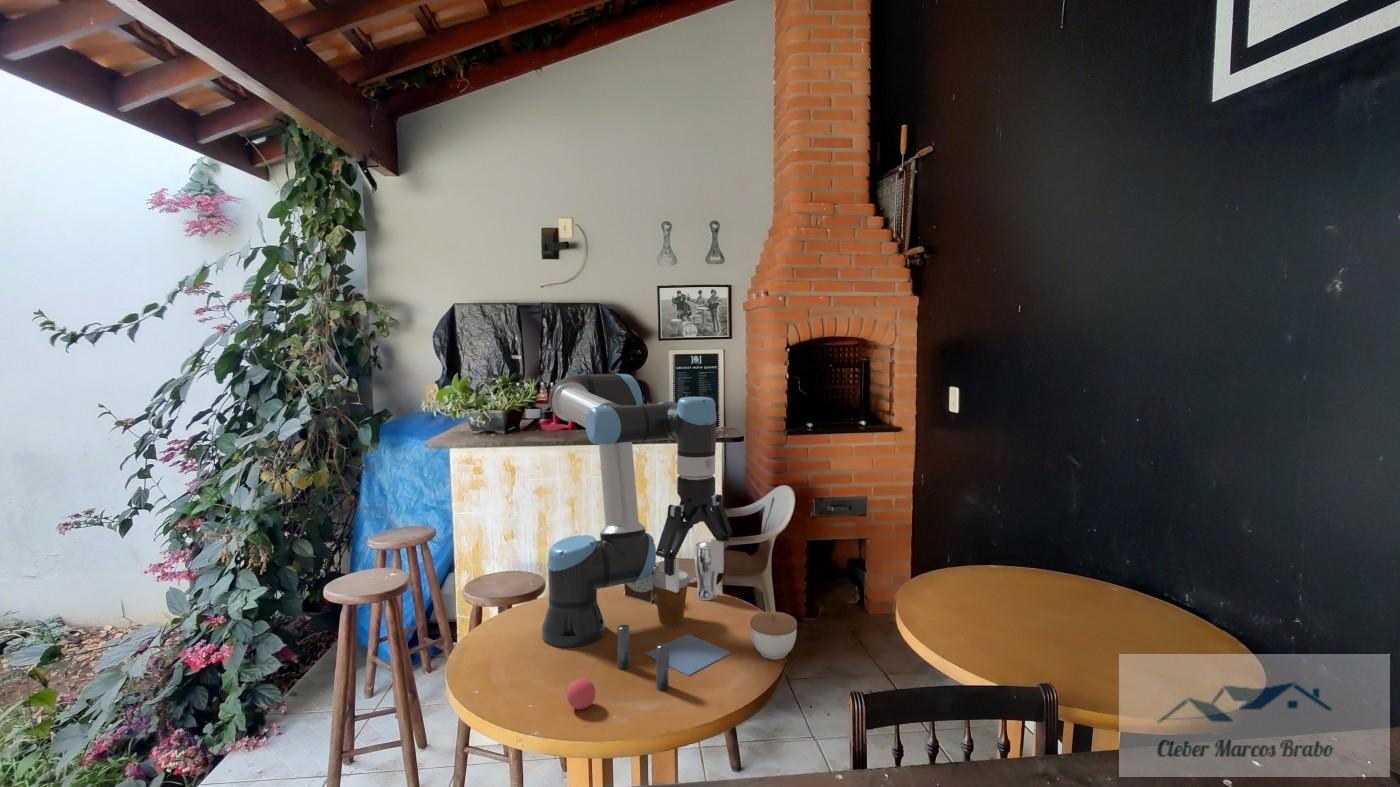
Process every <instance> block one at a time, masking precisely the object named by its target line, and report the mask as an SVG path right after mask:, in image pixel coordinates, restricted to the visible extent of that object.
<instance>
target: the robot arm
mask: <svg viewBox="0 0 1400 787" xmlns="http://www.w3.org/2000/svg"><path fill="white" fill-rule="evenodd" d="M642 395H643V394H642V391H641V387H640V385H639V382H637V380H636V378H634V376H633V375H630V374H628V373H627V374H626V373H617V372H615V373H597V374H596V373H595V374H594V373H593V374H584V373H583V374H574V375H573V374H572V375H570V376H567V377H564V378H562V379H560V380H559V381H558V382H556V383H555V384H554V385H553V387H552V388H551V389H550V392H549V396H548V405H549V408H550V410H551V412H552V413H553V414H554V415H555V416H556V417H558V418H559V419H560V420H563V421H566V422H575V423H577V424H578V425H579V426H581V427H584V429H585V431H586V435H587V438H588V441H590V443H591V444H593V445H598V447H599V448H598V449H599V462H600V473H601V487H602V488H601V489H602V498H603V500H602V501H603V509H604V512H603V513H604V522H605V525H604V527H603V528H602V529H601V531H600V532H599V538H600V539H599V540H597V539H596V538H595V537H594V536H593V535H590V534H589V535H588V534H583V535H581V534H579V535H573V536H568V537H565V538H563V539H560V540H558V541H556V542H555V543H553V544H552V546H550V548H549V550H548V557H547V558H548V560H547V569H548V571H547V572H548V574H547V575H548V606H547V610H546V614H545V617H544V620H543V624H542V625H541V626H542V627H541V638H542V639H543V641H544V642H545V643H547V644H548V645H551V646H556V647H561V648H572V647H573V648H575V647H581V646H585V645H589V644H592V643H593V642H596V641H598V640H599V639H601V637H603V635H604V634H605V621H604V618H603V615H602V614H603V613H602V612H601V609H600V607H599V603H598V597H597V596H598V595H597V594H598V593H597V592H598V590H600V589H605V588H611V587H616V586H619V585H620V586H621V585H624V584H627V583H635V582H638V581H642V580H645V579H647V578H648V577H649V576H650V575H651V574H652V571H653V570H654V566H655V562H657V561H656V560H657V557H660V558H663V559H664V561H663V562H664V563H663V565H664V566H663V568H664V569H663V570H664V573H665V574H666V589H667V590H670V591H673V592H675V593H677V592H679V570H680V558H678V557H677V555H678V553H679V552H680V549H681V547H682V545H683V543H684V541H685V538H686V537H687V535H688V533H689V531H690V529H693V527H694V526H695V525H697V524H699V523H704V524H705V526H706V527H707V528H708V530H709V532H710V533H711V535H712V536H713V538H712V539H711V541H710V542H711V570H712V571H715V572H718V574H723V573H724V565H725V564H724V562H725V561H724V557H725V556H724V555H725V552H726V551H725V550H726V549H725V546H726V545H725V544H726V542H729V541H730V536H732V534H733V530H732V528H731V525H730V522H729V521H730V520H729V519H728V516H727V513H726V510H725V507H724V500H723V499H724V498H723V495H722V494H718V493H716V477H715V476H714V475H715V474H716V446H717V445H716V444H717V441H716V440H717V420H718V419H717V418H718V417H717V412H716V402H715V399H713V398H712V397H708V396H685V397H684V396H683V397H680V398H679V399H678V401H677V402H675V401H662V402H658V403H650V404H643V401H644V400H643V396H642ZM666 440H667V441H668V440H671V441H672V440H674V441H676V442H677V452H676V453H677V454H676V457H677V458H676V460H677V462H676V463H677V464H676V465H677V466H676V467H677V468H676V472H677V474H678V475H679V476H678V477H677V480H676V484H677V486H676V492H677V495H678V496H679V498H680V502H679V504H678V505H676V504H675V505H674V504H669V505H668V507H667V514H666V515H667V516H666V520H665V523H664V526H663V529H662V532H661V535H660V538H659V542H658V544H657V547H656V544H655V540H654V538H653V536H652V534H650V533H648V532H646V526H644V525H643V524H642V523H641V522H640V520H639V510H638V509H639V508H638V496H637V487H636V474H635V463H634V462H635V461H634V452H633V443H635V442H636V443H637V442H653V441H666Z"/></svg>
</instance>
